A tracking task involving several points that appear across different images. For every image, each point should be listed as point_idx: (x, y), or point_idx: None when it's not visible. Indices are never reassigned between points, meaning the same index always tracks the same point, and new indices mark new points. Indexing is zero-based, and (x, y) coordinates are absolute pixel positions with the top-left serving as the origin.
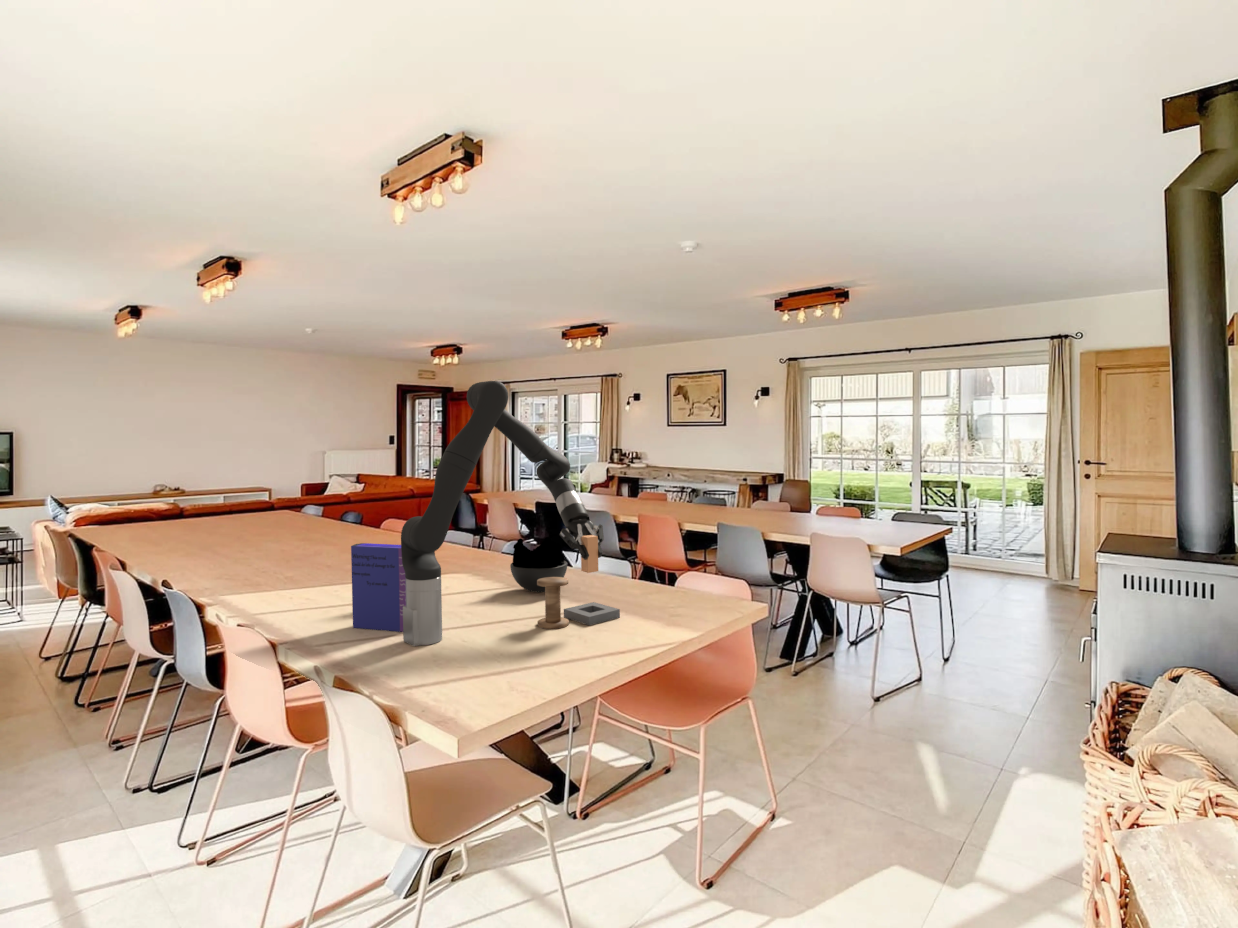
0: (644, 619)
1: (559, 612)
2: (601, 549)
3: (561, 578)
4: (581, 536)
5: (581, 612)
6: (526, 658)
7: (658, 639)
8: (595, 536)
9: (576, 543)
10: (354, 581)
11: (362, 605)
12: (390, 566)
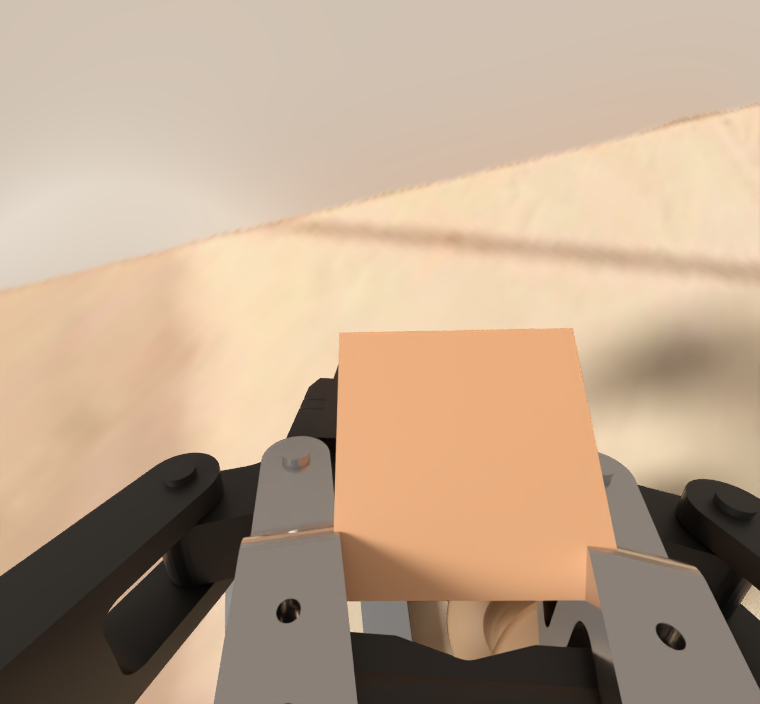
0: (193, 452)
1: (508, 607)
2: (307, 402)
3: None
4: (619, 547)
5: (385, 603)
6: (714, 333)
7: (311, 267)
8: (388, 334)
9: (671, 516)
10: None
11: None
12: None
